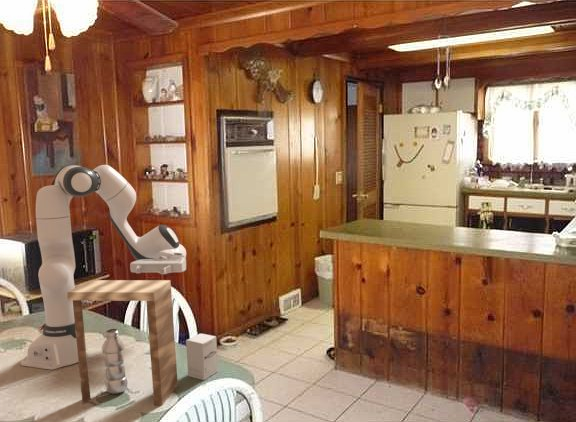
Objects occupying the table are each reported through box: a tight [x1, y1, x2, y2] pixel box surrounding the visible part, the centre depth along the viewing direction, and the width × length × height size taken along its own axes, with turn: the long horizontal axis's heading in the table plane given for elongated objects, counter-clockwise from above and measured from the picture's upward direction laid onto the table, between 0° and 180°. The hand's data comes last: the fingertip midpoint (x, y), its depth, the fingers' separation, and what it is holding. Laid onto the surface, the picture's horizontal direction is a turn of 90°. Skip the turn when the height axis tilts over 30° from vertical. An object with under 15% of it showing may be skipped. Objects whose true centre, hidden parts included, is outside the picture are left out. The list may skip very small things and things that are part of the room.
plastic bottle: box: [101, 328, 128, 395], centre depth 160 cm, size 6×7×20 cm
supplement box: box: [185, 333, 219, 381], centre depth 170 cm, size 7×7×13 cm
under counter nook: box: [67, 279, 179, 406], centre depth 157 cm, size 27×13×34 cm, turn 82°
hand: (149, 271), depth 183 cm, fingers open, 8 cm apart
